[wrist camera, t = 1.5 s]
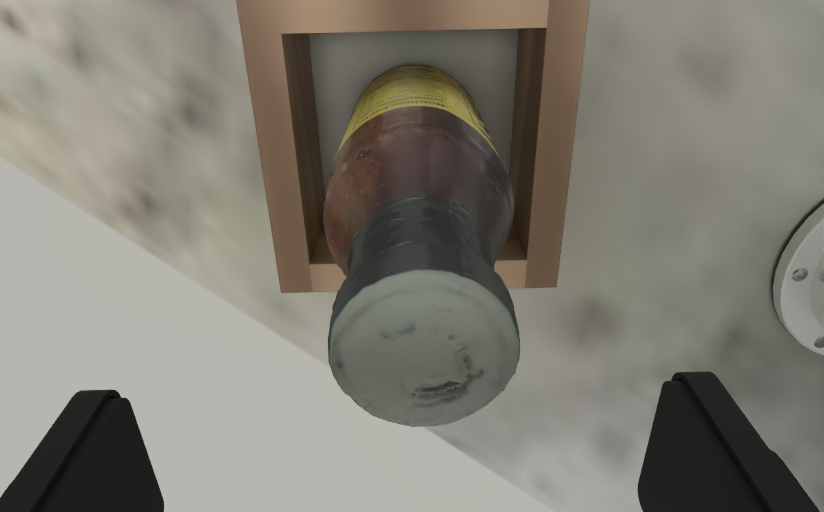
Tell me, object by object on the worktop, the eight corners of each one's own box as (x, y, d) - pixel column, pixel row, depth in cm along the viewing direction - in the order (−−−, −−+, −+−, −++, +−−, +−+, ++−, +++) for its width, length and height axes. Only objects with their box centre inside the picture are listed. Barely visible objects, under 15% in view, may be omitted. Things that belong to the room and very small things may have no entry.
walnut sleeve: (555, -26, 26) (592, -18, 21) (532, 231, 32) (556, 287, 27) (269, -20, 26) (234, -10, 21) (301, 235, 33) (281, 292, 27)
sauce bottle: (458, 189, 31) (521, 502, 14) (344, 167, 31) (259, 466, 13) (491, 66, 28) (623, 271, 11) (365, 39, 28) (288, 209, 10)
